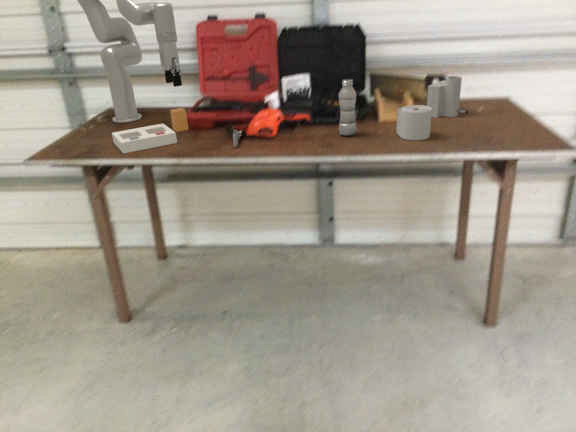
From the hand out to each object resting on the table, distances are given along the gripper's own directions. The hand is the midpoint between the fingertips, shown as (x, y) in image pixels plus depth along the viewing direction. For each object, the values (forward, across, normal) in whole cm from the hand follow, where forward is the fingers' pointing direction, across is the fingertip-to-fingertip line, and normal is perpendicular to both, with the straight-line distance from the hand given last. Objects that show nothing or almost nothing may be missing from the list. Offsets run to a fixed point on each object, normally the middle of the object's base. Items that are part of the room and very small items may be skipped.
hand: (174, 84), depth 200 cm
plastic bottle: (+19, +49, +48) cm, 71 cm away
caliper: (+19, +28, +14) cm, 36 cm away
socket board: (+18, +9, -17) cm, 26 cm away
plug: (+18, 0, 0) cm, 18 cm away
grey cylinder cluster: (+19, +53, +95) cm, 110 cm away
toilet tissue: (+19, +65, +65) cm, 94 cm away
